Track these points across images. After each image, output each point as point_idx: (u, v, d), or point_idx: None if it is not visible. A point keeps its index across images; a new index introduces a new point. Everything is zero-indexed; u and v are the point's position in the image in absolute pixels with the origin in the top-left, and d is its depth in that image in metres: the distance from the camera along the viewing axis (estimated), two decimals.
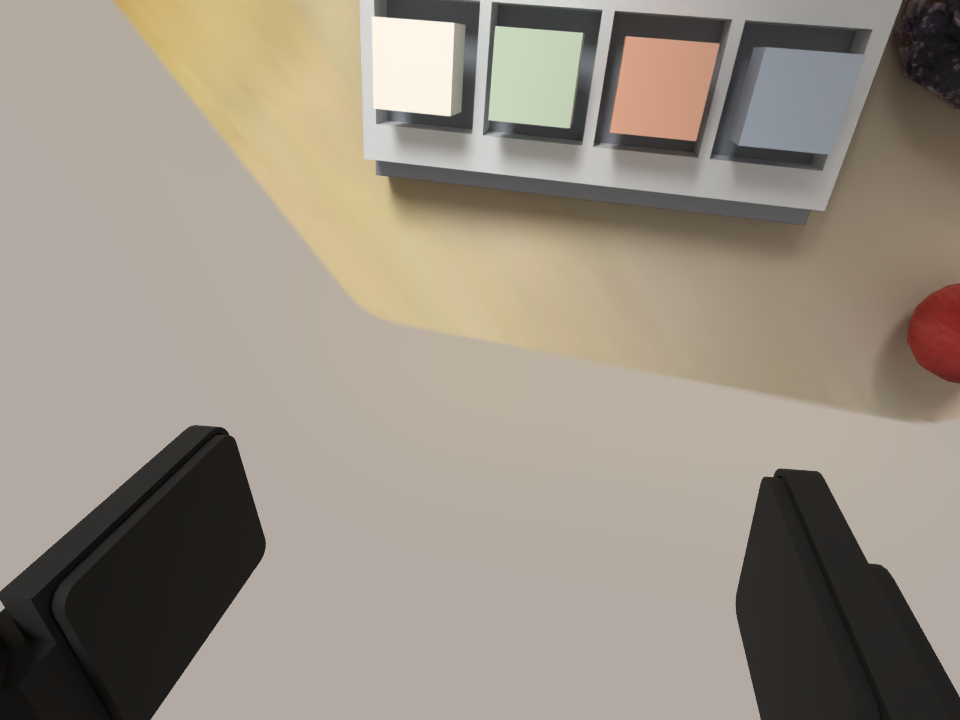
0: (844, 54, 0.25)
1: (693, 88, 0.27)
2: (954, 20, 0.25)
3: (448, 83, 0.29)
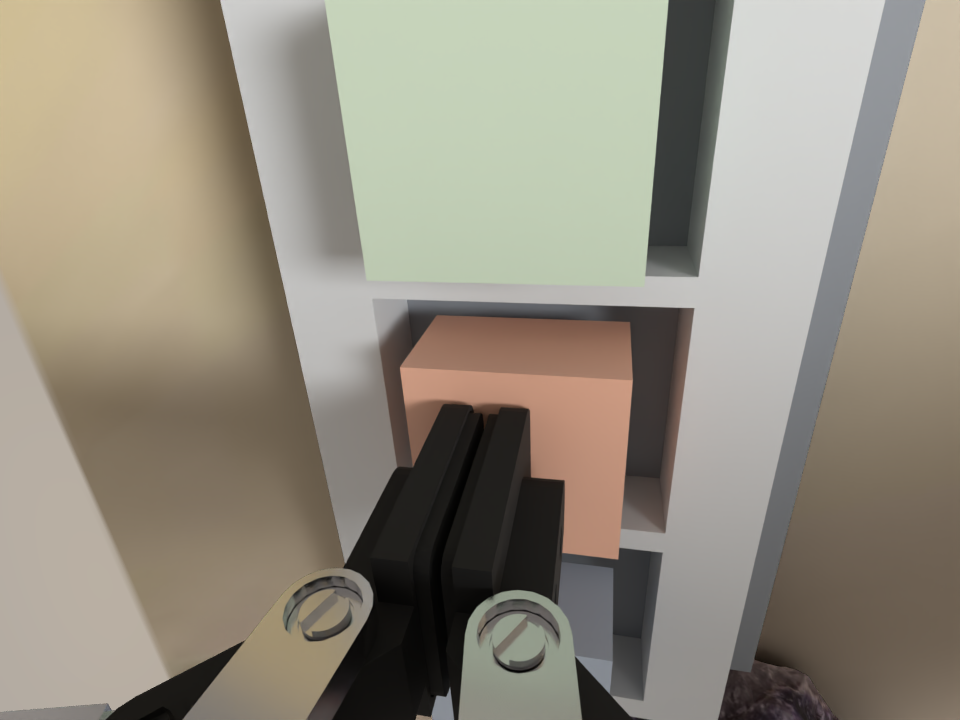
0: None
1: None
2: None
3: None
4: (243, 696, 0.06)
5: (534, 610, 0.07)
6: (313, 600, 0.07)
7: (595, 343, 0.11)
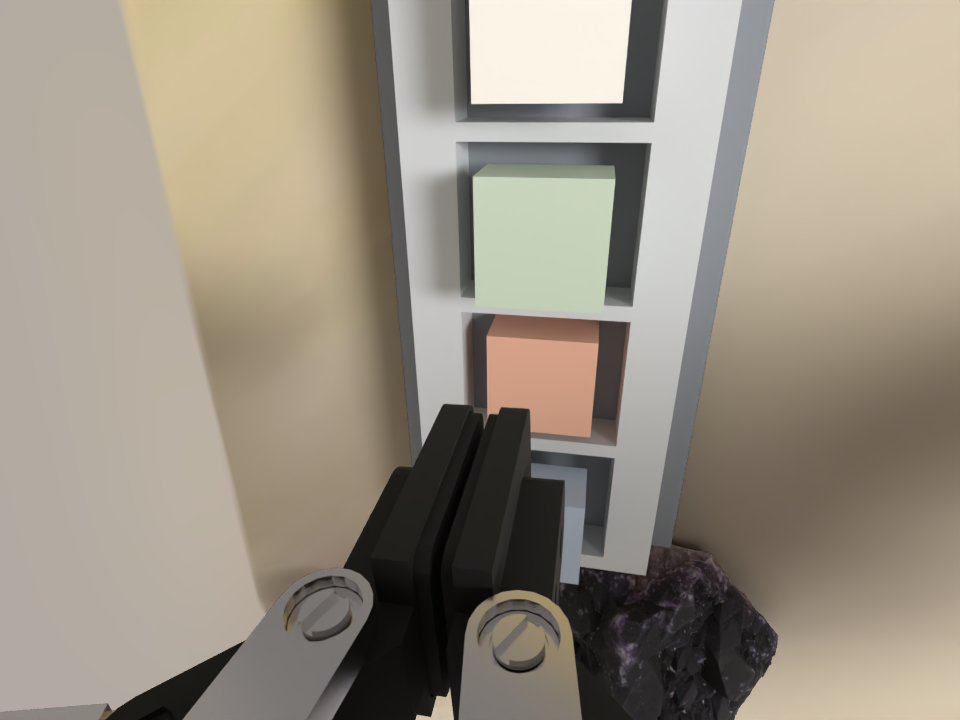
0: (578, 569, 0.24)
1: (543, 419, 0.23)
2: (619, 613, 0.27)
3: (525, 97, 0.16)
4: (243, 695, 0.06)
5: (534, 610, 0.07)
6: (313, 600, 0.07)
7: (581, 327, 0.22)
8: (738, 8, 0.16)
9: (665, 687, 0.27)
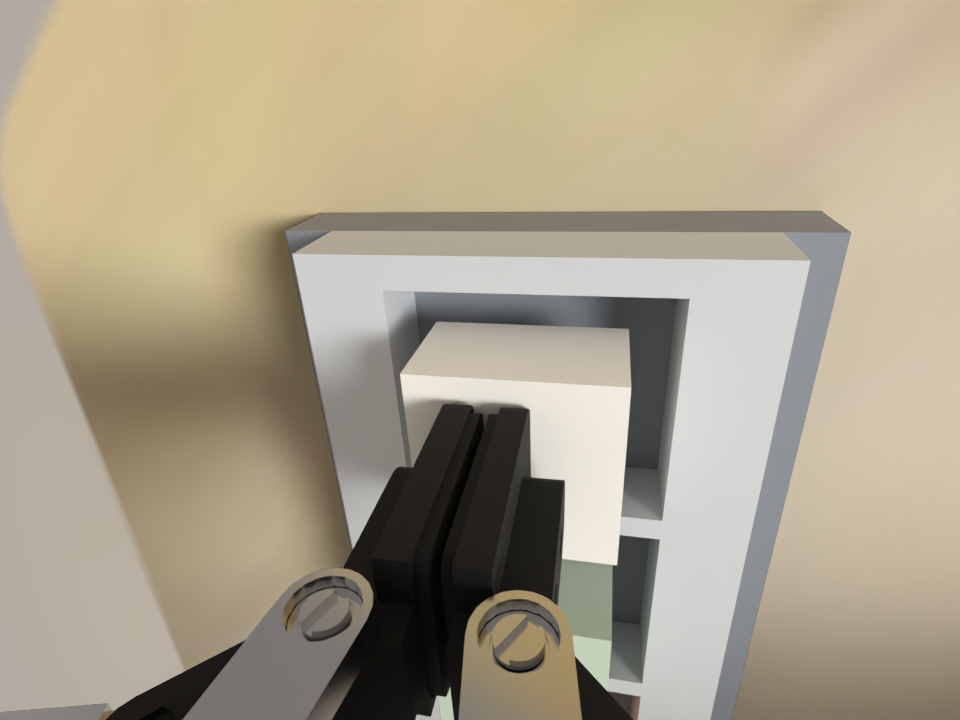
0: None
1: None
2: None
3: None
4: (243, 695, 0.06)
5: (534, 610, 0.07)
6: (313, 600, 0.07)
7: None
8: (771, 423, 0.12)
9: None
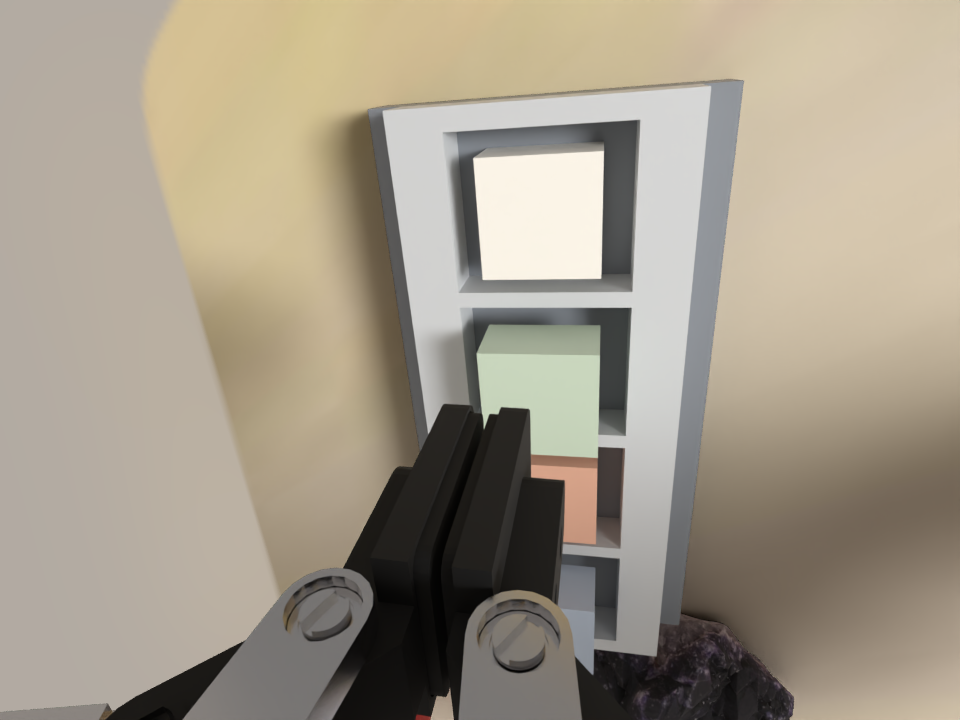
0: (592, 662, 0.26)
1: None
2: (641, 689, 0.29)
3: (525, 274, 0.20)
4: (243, 696, 0.06)
5: (534, 610, 0.07)
6: (313, 600, 0.07)
7: None
8: (697, 205, 0.19)
9: None
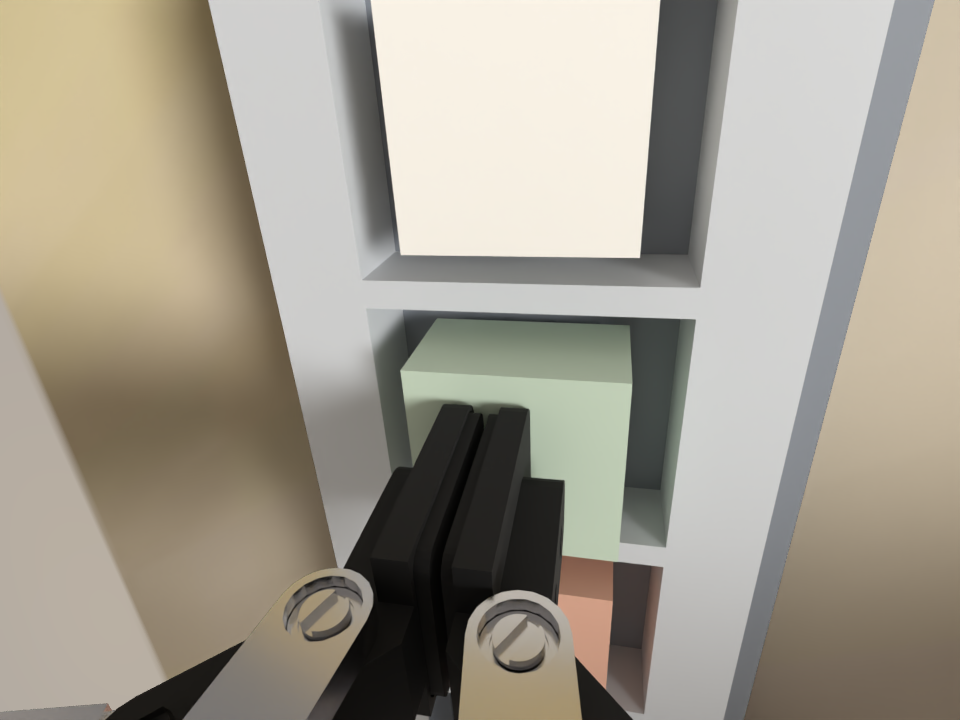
0: None
1: None
2: None
3: (484, 246, 0.10)
4: (243, 696, 0.06)
5: (534, 610, 0.07)
6: (313, 600, 0.07)
7: None
8: (866, 97, 0.08)
9: None
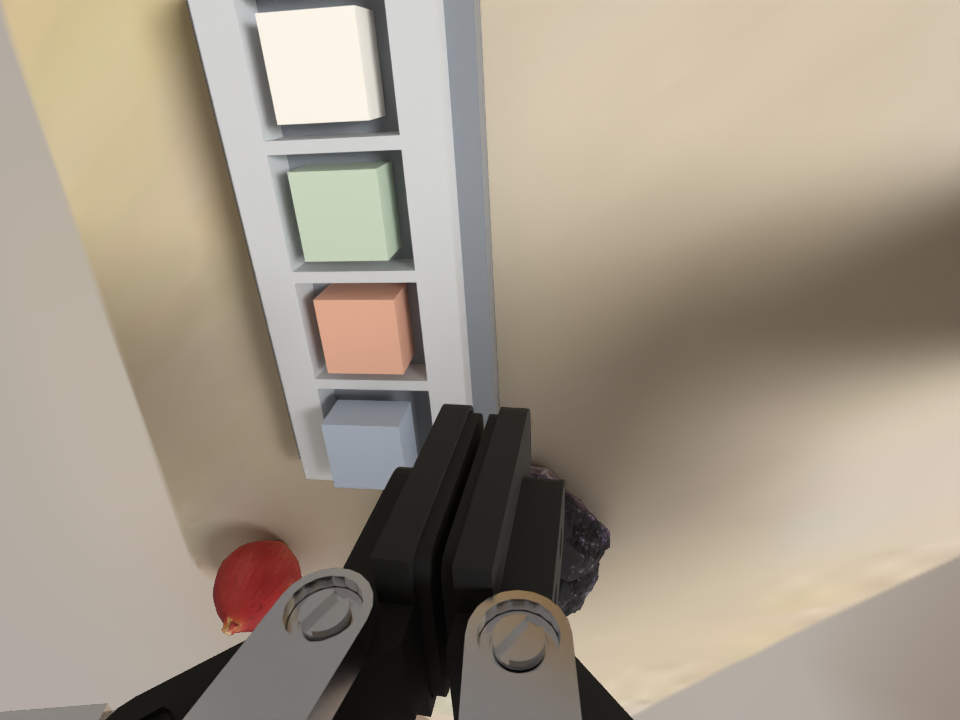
0: None
1: (366, 362, 0.30)
2: None
3: (310, 118, 0.25)
4: (244, 695, 0.06)
5: (534, 610, 0.07)
6: (313, 600, 0.07)
7: (388, 290, 0.29)
8: (436, 55, 0.23)
9: None
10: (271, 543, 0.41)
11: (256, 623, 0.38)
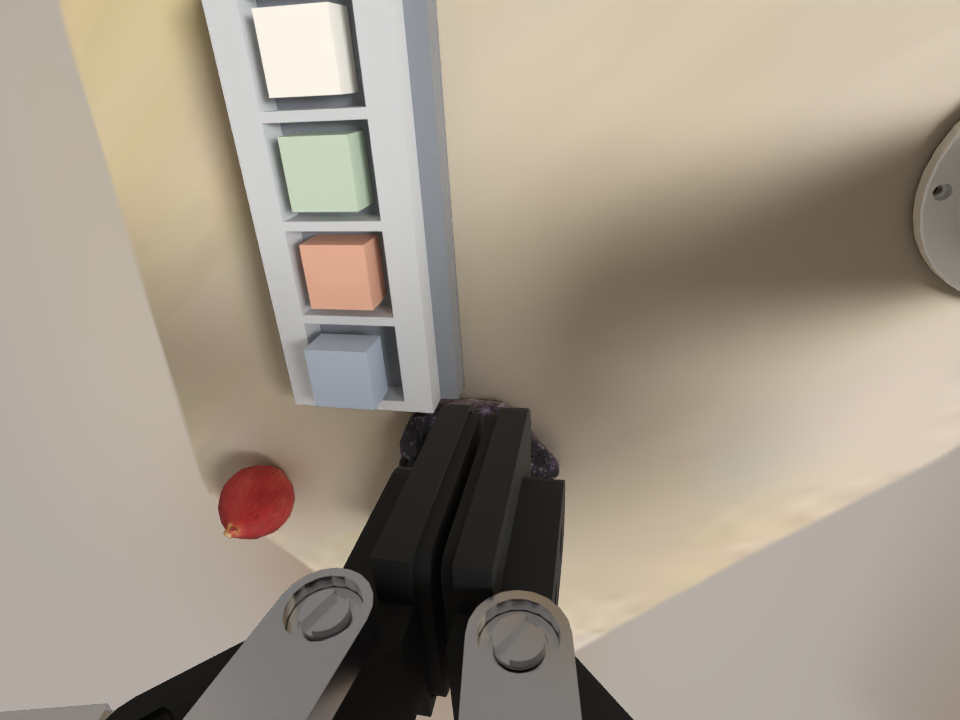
0: (372, 398, 0.37)
1: (342, 299, 0.36)
2: None
3: (294, 93, 0.31)
4: (244, 695, 0.06)
5: (534, 610, 0.07)
6: (313, 600, 0.07)
7: (361, 239, 0.35)
8: (393, 42, 0.29)
9: None
10: (269, 467, 0.47)
11: (253, 530, 0.45)
